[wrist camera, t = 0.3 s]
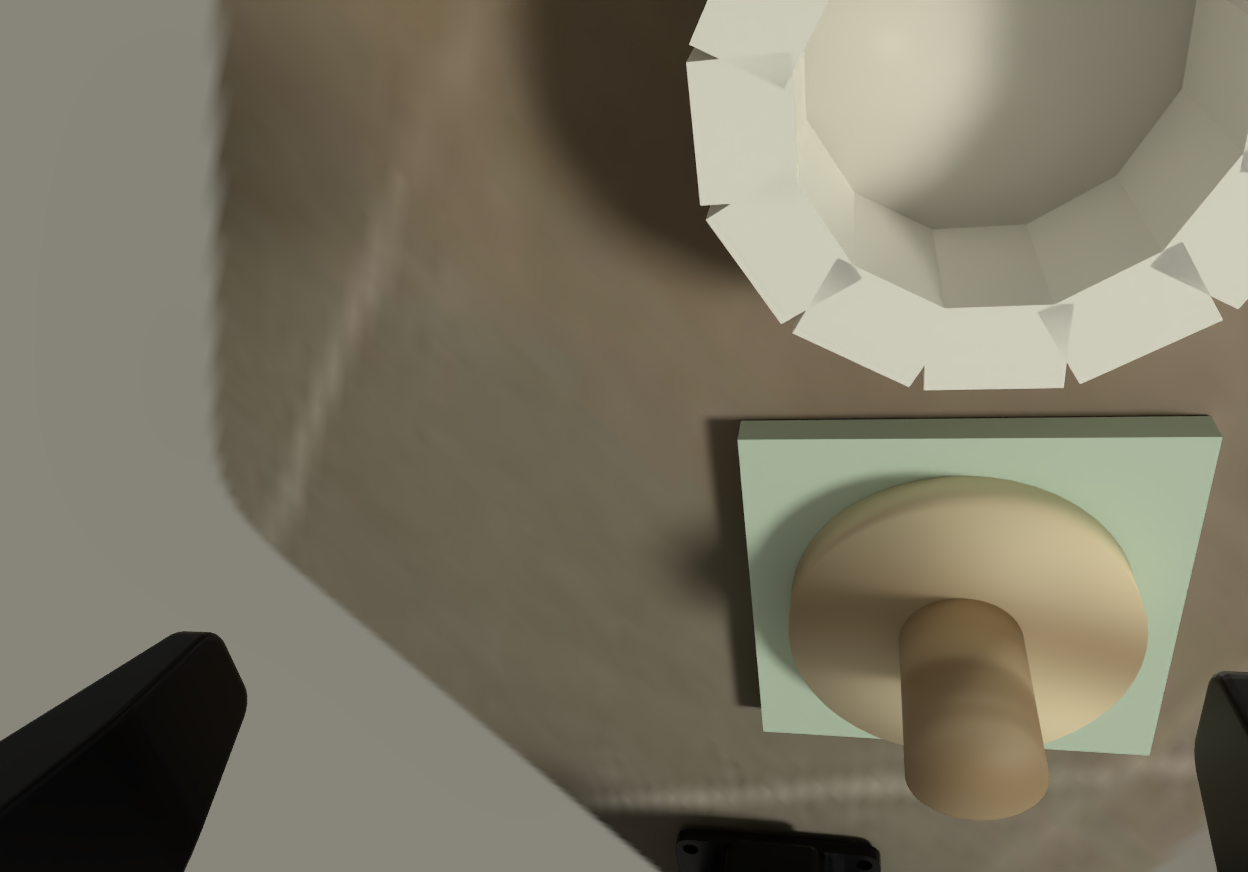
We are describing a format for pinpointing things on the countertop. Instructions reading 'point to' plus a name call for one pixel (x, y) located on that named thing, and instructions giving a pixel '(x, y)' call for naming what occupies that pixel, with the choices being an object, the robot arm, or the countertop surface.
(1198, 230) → the white faceted ring
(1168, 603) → the mat
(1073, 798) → the countertop surface
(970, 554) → the lid
